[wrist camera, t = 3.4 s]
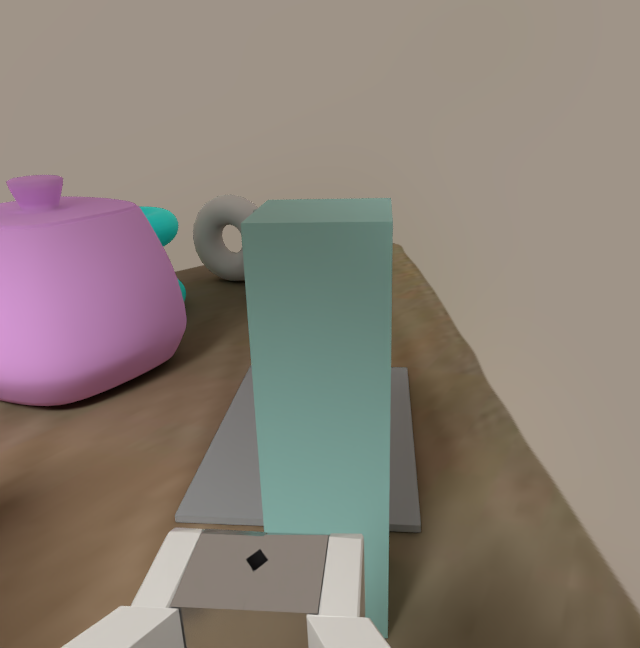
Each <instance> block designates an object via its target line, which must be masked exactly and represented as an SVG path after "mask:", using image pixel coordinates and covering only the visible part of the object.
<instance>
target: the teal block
mask: <svg viewBox="0 0 640 648" xmlns="http://www.w3.org/2000/svg"><path fill="white" fill-rule="evenodd" d="M392 232H393V220H392V206H391V198H365V199H364V198H362V199H303V200H302V199H300V200H299V199H297V200H268V201H266V202H265V203H264V204H263V205H261V206H260V207H259V208H258V209H257V210H256V211H254V212H253V213H252V214H251V215H250V216H249V217H247V218H246V219H245V220H244V221H243V222H242V223H241V235H242V248H243V262H244V275H245V288H246V301H247V314H248V327H249V340H250V353H251V366H252V379H253V392H254V405H255V418H256V431H257V444H258V457H259V470H260V484H261V497H262V510H263V523H264V532H267V533H302V534H331V533H351V534H362V535H363V536H364V564H365V618H370V619H371V620H372V622H373V623H374V625H375V626H376V627H377V629H378V630H379V631H380V633H381V634H382V636H383V637H384V638H388V574H389V489H390V404H391V319H392V234H393V233H392Z"/></svg>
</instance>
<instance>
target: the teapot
mask: <svg viewBox="0 0 640 648" xmlns="http://www.w3.org/2000/svg"><path fill="white" fill-rule="evenodd" d="M6 183H7V186H8V188H9V190H10V191H11V193H12V195H13V196H14V198H15V200H16V201H13V202H6V203H0V400H1V401H6V402H11V403H17V404H23V405H33V406H53V405H62V404H68V403H72V402H76V401H79V400H83V399H86V398H88V397H91V396H94V395H96V394H99V393H101V392H104V391H106V390H109V389H111V388H113V387H116V386H118V385H120V384H122V383H125V382H127V381H129V380H131V379H133V378H135V377H137V376H139V375H141V374H143V373H145V372H147V371H149V370H151V369H153V368H155V367H157V366H158V365H160V364H162V363H164V362H165V361H167V360H168V359H170V358H171V357H172V356H173V355H174V353H175V351H176V349H177V348H178V346H179V344H180V341H181V339H182V337H183V334H184V332H185V329H186V322H187V318H186V311H185V305H184V301H183V297H182V293H181V289H180V286H179V283H178V279H177V276H176V274H175V271H174V269H173V266H172V264H171V262H170V260H169V258H168V256H167V254H166V252H165V250H164V248H163V246H162V244H161V242H160V240H159V239H158V237H157V235H156V233H155V231H154V230H153V228H152V226H151V224H150V223H149V221H148V219H147V218H146V216H145V215H144V213H143V212H142V210H141V208H140V207H139V206H137V205H136V204H135V203H132V202H129V201H123V200H116V199H108V198H94V197H60V196H61V191H62V186H63V178H62V177H60V176H56V175H33V176H23V177H17V178H12V179H10V180H8V181H7V182H6Z"/></svg>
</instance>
